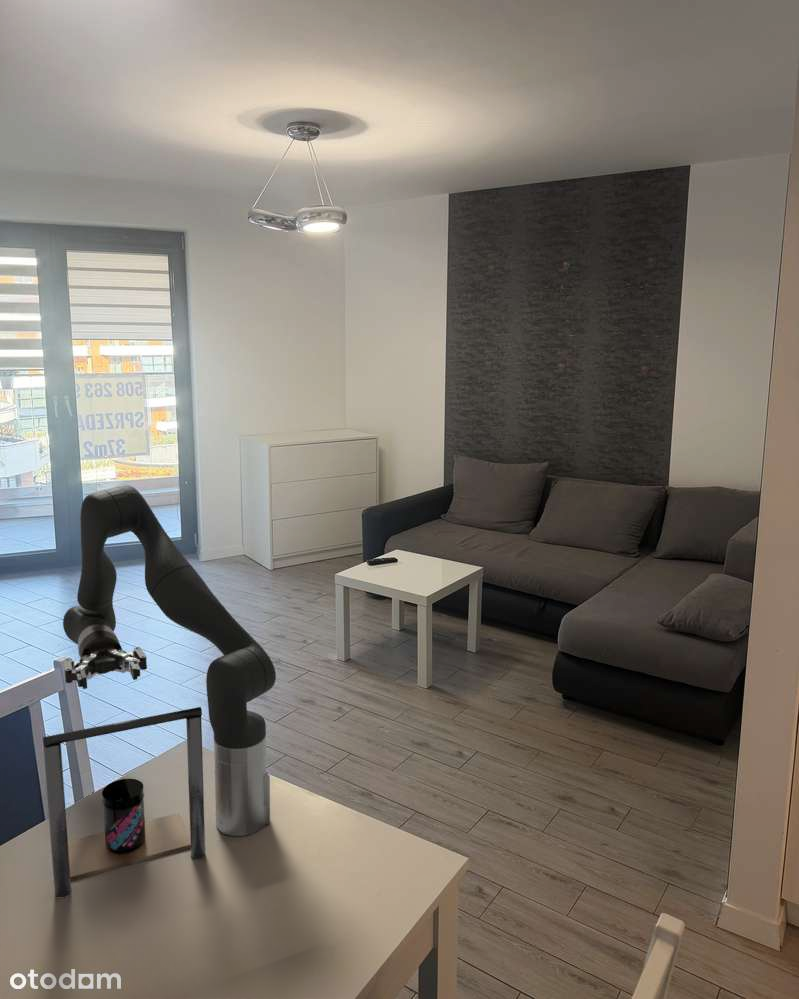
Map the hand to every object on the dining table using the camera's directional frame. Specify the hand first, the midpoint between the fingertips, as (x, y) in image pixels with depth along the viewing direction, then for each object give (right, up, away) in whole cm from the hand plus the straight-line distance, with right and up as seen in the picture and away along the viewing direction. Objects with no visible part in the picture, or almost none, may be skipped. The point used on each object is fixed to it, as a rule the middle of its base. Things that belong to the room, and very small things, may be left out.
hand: (110, 679), depth 135 cm
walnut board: (+4, -28, -3) cm, 29 cm away
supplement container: (+4, -28, -3) cm, 29 cm away
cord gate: (+8, -30, -10) cm, 32 cm away
